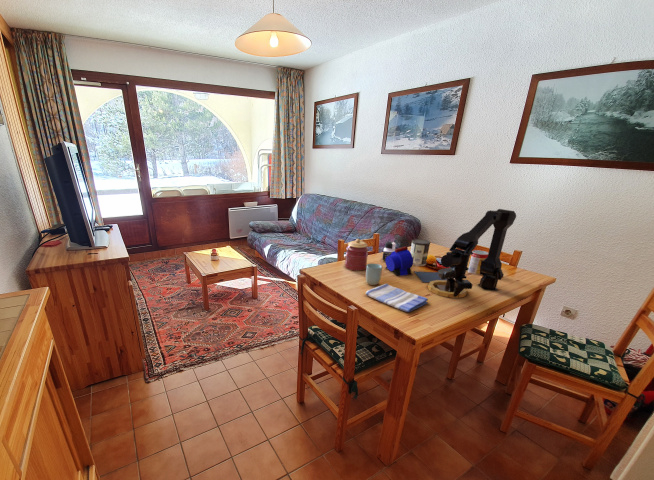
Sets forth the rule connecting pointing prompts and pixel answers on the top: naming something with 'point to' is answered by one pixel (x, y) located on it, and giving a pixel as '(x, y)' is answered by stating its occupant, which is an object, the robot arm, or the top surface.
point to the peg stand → (444, 287)
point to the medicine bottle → (388, 250)
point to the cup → (373, 273)
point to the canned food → (476, 261)
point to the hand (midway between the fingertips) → (453, 294)
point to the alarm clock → (400, 261)
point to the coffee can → (419, 251)
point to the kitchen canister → (356, 255)
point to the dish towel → (397, 297)
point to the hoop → (444, 293)
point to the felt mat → (428, 276)
